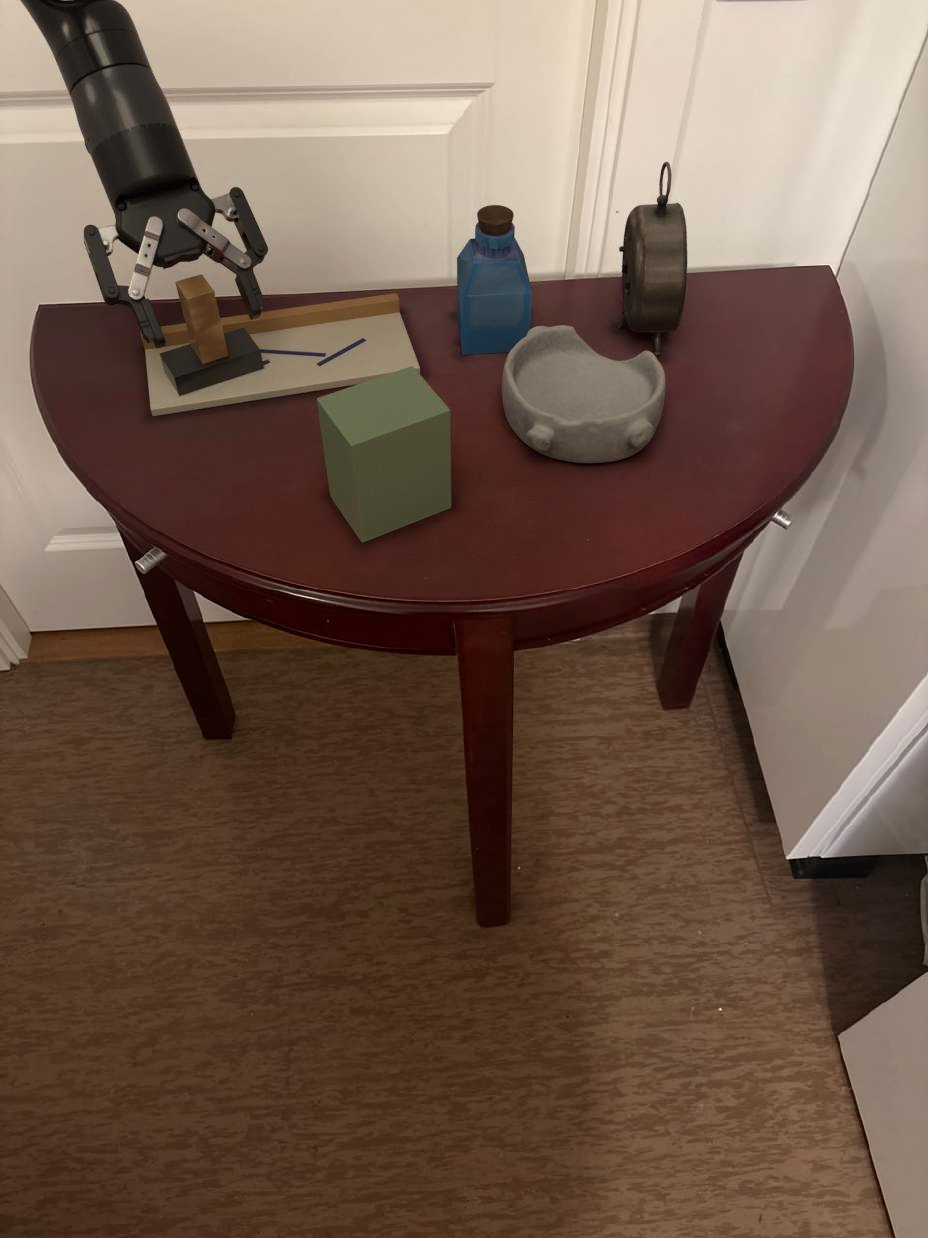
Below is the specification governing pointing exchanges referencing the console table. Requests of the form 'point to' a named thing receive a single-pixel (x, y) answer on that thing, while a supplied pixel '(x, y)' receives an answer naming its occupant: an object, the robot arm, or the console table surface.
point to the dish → (580, 397)
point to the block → (387, 452)
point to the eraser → (207, 343)
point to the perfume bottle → (492, 286)
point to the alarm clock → (654, 266)
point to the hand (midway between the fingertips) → (209, 330)
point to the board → (295, 353)
